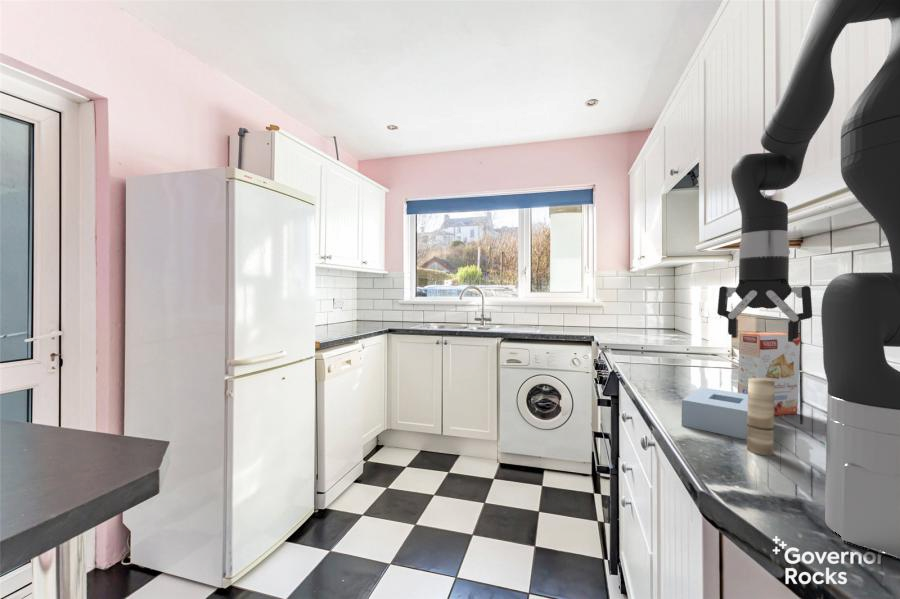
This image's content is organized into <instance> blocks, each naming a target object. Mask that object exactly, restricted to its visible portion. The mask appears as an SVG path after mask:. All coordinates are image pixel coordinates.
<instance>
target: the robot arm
mask: <svg viewBox="0 0 900 599" xmlns="http://www.w3.org/2000/svg"><path fill="white" fill-rule="evenodd" d="M886 19H888V20H889V21H890V28H891V36H890V37H891V38H890V43H889V44H890V45H889V50H888V53H887V56H886V58H885V61H884V63H883V64H882V66H881V68H880V69H879V70H878V72H877V73H876V74H875V76H874V77H873V78H872V80H871V81H870V82H869V84H868V85H866V87H865V89H864V90H863V91H862V93H861V94H860V95H859V97H858V98H857V99H856V101H855V102H854V104H853V105H852V106H851V108H849V111H848V112H847V113H846V116H845V118H844V120H843V122H842V124H841V129H840V130H841V131H840V173H841V177H842V179H843V181H844V183H845V185H846V186H847V188H848V189H849V191H850V192H851V193H852V196H854V197H855V199H856V200H857V201H858V202H859V203H860V204H861V205H862V206H863V208H865V210H866V211H867V212H868V214H870V216H871V217H873V219H874V221H876V223H878V225H879V227H880V228H881V230H882V231H883V233H884V235H885V237H886V239H887V242H888V247H889V252H890V260H891V267H892V268H891V272H888V271H887V272H884V271H883V272H880V271H879V272H874V271H873V272H848V273H843V274H840V275H837V276H836V277H834V278H833V279H831V281H830V282H829V283H828V285H826V286H827V287H826V288H825V290H824V293H823V295H822V301H821V311H820V312H821V314H820V315H821V317H820V318H821V320H820V321H821V333H822V336H821V337H822V359H823V360H822V361H823V369H824V374H825V377H826V380H827V406H826V407H827V409H826V411H827V412H826V414H827V415H826V444H825V447H826V448H825V449H826V451H825V454H826V455H825V490H824V492H825V496H824V497H825V499H824V500H825V502H824V504H825V505H824V507H825V508H824V509H825V510H824V512H825V513H824V515H825V516H824V523H825V525H826V526H827V527H828V528H829V529H830V530H831V531H833V533H835V532H836V533H837V535H838V534H839V535H840V536H841V537H840V536H839V535H838V536H839V537H840V540H841V539H842V540H845V541H848V542H851V543H854V544H858V545H861V546H866V547H869V548H875V549H878V550H881V551H884V552H887V553H890V554H892V555H895V556H897V557H899V558H900V370H897V369H896V368H894V367H893V366H892V365H890V364H889V362H888V361H887V359H886V354H885V347H890V348H891V347H892V348H895V347H896V348H897V347H898V348H899V347H900V0H816V1H815V4H814V7H813V10H812V13H811V16H810V18H809V21H808V24H807V25H806V26H807V27H806V29H805V32H804V35H803V37H802V41H801V44H800V47H799V49H798V52H797V55H796V59H795V61H794V64H793V68H792V70H791V72H790V75H789V79H788V81H787V83H786V86H785V88H784V91H783V94H782V96H781V98H780V99H779V101H778V103H777V106H776V108H774V111H773V113H772V115H771V117H770V118H769V120H768V122H767V124H766V126H765V127H764V128H765V129H764V130H763V132H762V134H761V138H760V144H761V147H762V148H763V149H765V150H766V152H759V153H756V152H755V153H748V154H744V155H742V156H741V157H739V158H738V159H737V160H736V161H735V163H734V164H733V166H732V169H731V172H730V173H731V175H730V178H731V179H730V180H731V184H732V187H733V190H734V192H735V193H734V194H735V195H736V196H735V197H736V198H737V201H738V206H739V210H740V214H741V236H740V242H739V253H738V254H739V256H738V257H739V259H738V262H739V263H738V265H739V266H738V285H737V286H736V287H727V286H723V285H722V286H720V287H719V292H718V302H717V311H716V312H717V315H718V316H722V317H725V318H727V321H728V322H727V334H728V335H731V339H738V336H739V332H738V331H739V319H738V318H737V317H738V316H740V314H741V313H742V312H744V311H745V310H746V309H747V308H750V309H751V308H752V309H760V308H762V309H763V308H764V309H773V310H774V309H776V308H778V309H779V310H780V311H781V312H782V313H783V314H784V315H786V317H787V318H788V319H789V321H788V322H787V323H788V324H787V325H788V326H787V333H788V342H793V339H797V338H798V334H799V324H800V322H801V321H805V320H807V319H809V320H810V319H811V318H812V317H813V305H812V304H813V303H812V291H811V290H812V289H811V287H810V286H808V285H804V286H797V287H796V286H795V287H794V286H790V284H789V273H790V272H789V270H790V268H789V267H790V266H789V265H790V253H791V250H790V239H789V232H788V227H789V225H788V224H789V221H788V220H789V208H788V204H787V203H785V202H784V201H781V200H775V199H770V198H767V197H765V196H764V195H763V194H762V191H777V190H784V189H787V188H789V187H791V186H792V185H793V184H795V183H796V181H798V179H799V178H800V176H801V174H802V170H803V165H804V160H805V157H806V154H807V150H808V147H809V145H810V142H811V140H812V139H813V137H814V135H815V134H816V133H817V131H818V129H819V128H820V127H821V125H822V124H823V122H824V120H825V119H826V118H827V116H828V114H829V112H830V110H831V108H832V105H833V103H834V98H835V90H836V88H835V81H834V76H833V71H832V52H833V48H834V46H835V43H836V41H837V40H838V37H839V36H840V35H841V34H842V31H843V30H844V29H845V27H846V26H847V25H849V24H856V23H857V24H858V23H864V22H869V21H877V20H886ZM791 293H793V294H795V296H796V297H797V298H798V299H802V300H801V302H802V312H800V313H796V311H794V310H793V309H792V308H791V307H790V305H788V303H787V302H786V301H785V300H786V299H787V298H788V297H789V296H790V295H791ZM733 294H736V295H737V296H738V297H739V298H740V302H738V304H736V306H735V307H734V308H733V309H732V310H731V311H729V310H728V309H727V308H728V302H729V301H728V299H729V298H731V297H732V296H733ZM836 533H835V534H836ZM842 540H841V541H842Z"/></svg>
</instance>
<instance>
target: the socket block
mask: <svg viewBox="0 0 900 599" xmlns="http://www.w3.org/2000/svg"><path fill="white" fill-rule="evenodd" d="M747 420H748V394H742V393H738V392H736V391H728V390H722V389H721V390H720V389H714V388H707V387H701V386H700V387H699V388H697V389H696V390H695V391H693V392H692V393H690V394H689V395H687V396H686V397H684V398H682V400H681V426H682V427H687V428H690V429H691V428H692V429H696V430H700V429H701V430H700V431H706V432H710V433H715V434H718V435H719V434H720V435H724V436H728V437H734V438H737V439H742V440H747Z"/></svg>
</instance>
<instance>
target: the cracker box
mask: <svg viewBox="0 0 900 599" xmlns="http://www.w3.org/2000/svg"><path fill="white" fill-rule="evenodd" d="M738 342H739V344H738V347H739V348H738V372H737V373H738V374H737V393H742V394H748V378H763V379H769V380H773V381H775V389H774V416H783V415H793V414H794V415H795V414H796V415H797V414H798V406H799V405H798V401H799V400H798V399H799V382H800V381H799V378H800V355H801V354H800V353H801V334H799V333H798V338H797V339H793V342H788V332H776V331H775V332H769V331H768V332H767V331H765V332H761V331H759V332H739V341H738Z"/></svg>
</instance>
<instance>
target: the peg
mask: <svg viewBox="0 0 900 599" xmlns="http://www.w3.org/2000/svg"><path fill="white" fill-rule="evenodd" d="M774 389H775V381H773V380H769V379H763V378H748V420H747V439H746V450H747V451H748V452H750V453H753V454H756V455H761V456H769V457H771V456H773V455H774V434H775V433H774V431H775V424H774V423H775V415H774Z"/></svg>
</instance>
